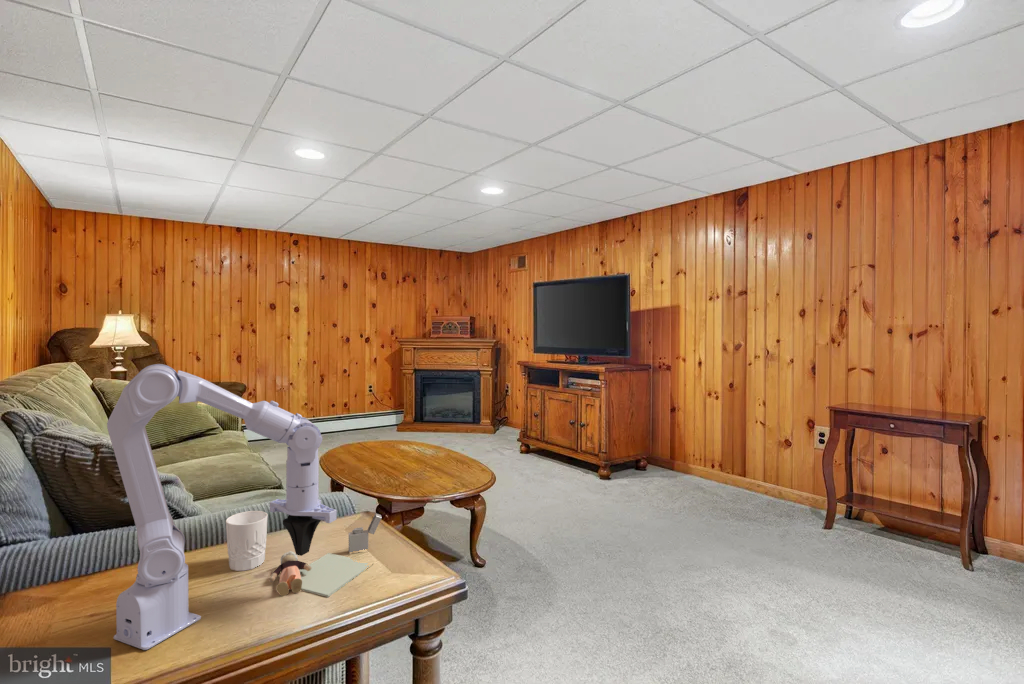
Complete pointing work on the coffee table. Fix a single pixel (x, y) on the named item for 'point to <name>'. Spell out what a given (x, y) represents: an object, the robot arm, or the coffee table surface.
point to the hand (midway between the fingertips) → (302, 553)
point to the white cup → (246, 539)
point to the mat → (330, 574)
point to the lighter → (362, 535)
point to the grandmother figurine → (289, 573)
